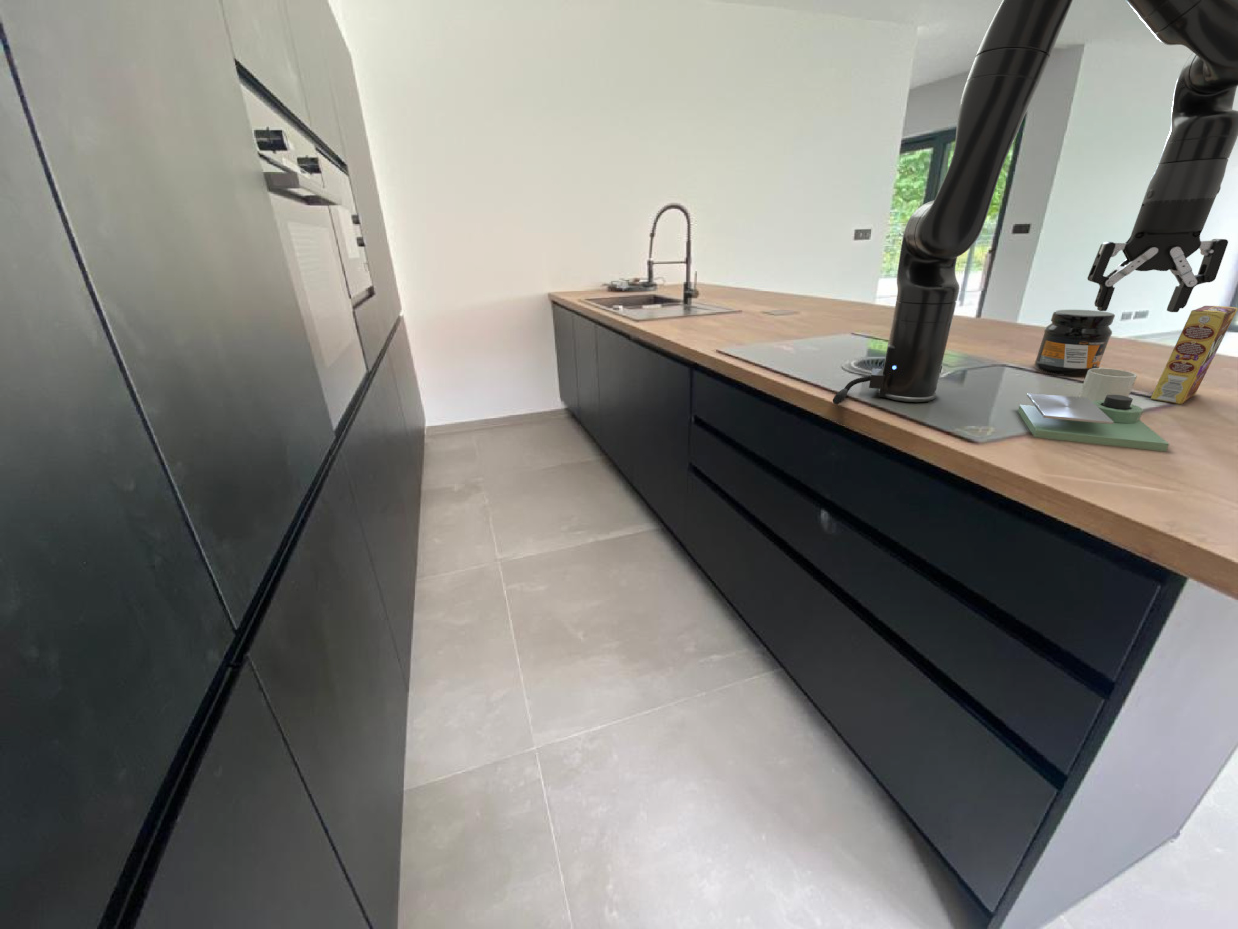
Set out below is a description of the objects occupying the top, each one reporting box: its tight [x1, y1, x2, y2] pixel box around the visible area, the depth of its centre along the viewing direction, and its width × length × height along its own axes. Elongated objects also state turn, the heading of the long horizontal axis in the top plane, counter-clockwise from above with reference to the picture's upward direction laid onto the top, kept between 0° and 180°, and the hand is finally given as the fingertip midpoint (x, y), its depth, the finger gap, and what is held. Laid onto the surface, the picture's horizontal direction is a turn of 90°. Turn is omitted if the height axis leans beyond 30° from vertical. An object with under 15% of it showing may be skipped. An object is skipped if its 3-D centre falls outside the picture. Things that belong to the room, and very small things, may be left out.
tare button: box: [1103, 395, 1133, 410], centre depth 77 cm, size 3×3×2 cm
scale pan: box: [1026, 392, 1114, 424], centre depth 77 cm, size 8×12×1 cm, turn 153°
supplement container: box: [1034, 309, 1116, 377], centre depth 104 cm, size 10×10×12 cm
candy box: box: [1150, 305, 1238, 405], centre depth 85 cm, size 9×4×15 cm, turn 123°
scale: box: [1017, 400, 1170, 452], centre depth 76 cm, size 14×14×3 cm
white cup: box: [1078, 367, 1138, 401], centre depth 86 cm, size 6×6×6 cm
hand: (1135, 310), depth 81 cm, fingers open, 8 cm apart
